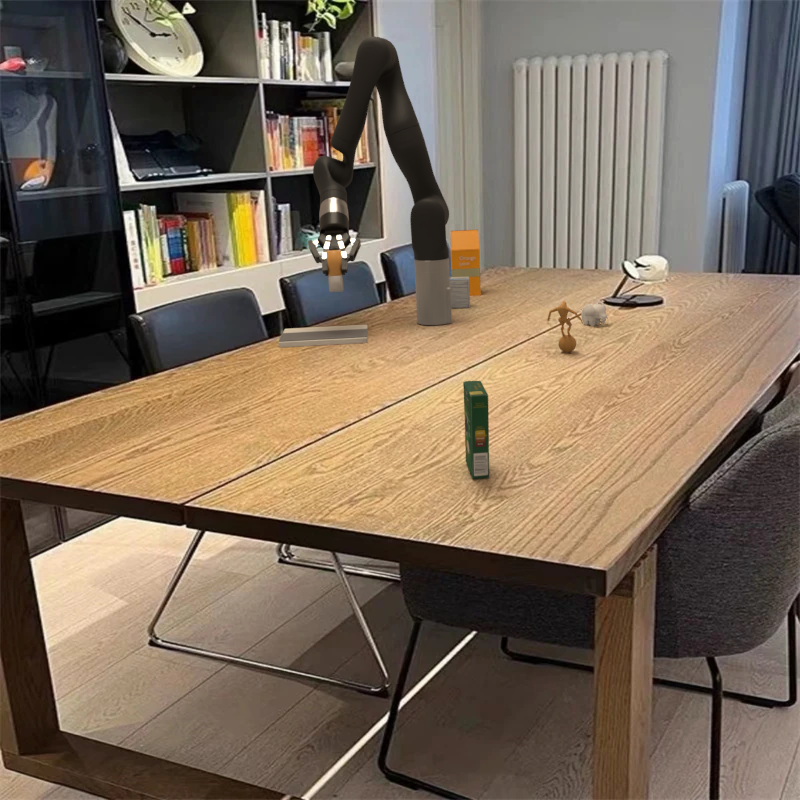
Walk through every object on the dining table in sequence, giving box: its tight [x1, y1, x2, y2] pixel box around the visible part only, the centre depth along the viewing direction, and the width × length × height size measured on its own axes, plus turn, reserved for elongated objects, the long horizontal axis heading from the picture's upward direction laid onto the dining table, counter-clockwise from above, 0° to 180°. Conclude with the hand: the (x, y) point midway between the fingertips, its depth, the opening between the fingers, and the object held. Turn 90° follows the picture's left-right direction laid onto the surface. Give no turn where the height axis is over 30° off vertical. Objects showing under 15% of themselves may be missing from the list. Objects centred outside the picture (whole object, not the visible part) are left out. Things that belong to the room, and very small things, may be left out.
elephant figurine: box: [580, 300, 609, 327], centre depth 246 cm, size 7×8×6 cm
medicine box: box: [450, 276, 471, 309], centre depth 281 cm, size 8×4×9 cm, turn 84°
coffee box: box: [463, 380, 490, 480], centre depth 143 cm, size 8×3×13 cm, turn 3°
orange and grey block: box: [326, 250, 344, 293], centre depth 241 cm, size 4×4×10 cm
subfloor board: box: [278, 324, 369, 348], centre depth 248 cm, size 22×18×1 cm
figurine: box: [547, 301, 584, 353], centre depth 216 cm, size 8×6×12 cm
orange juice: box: [450, 229, 482, 297], centre depth 302 cm, size 8×9×20 cm
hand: (335, 273), depth 240 cm, fingers closed on orange and grey block, 3 cm apart
